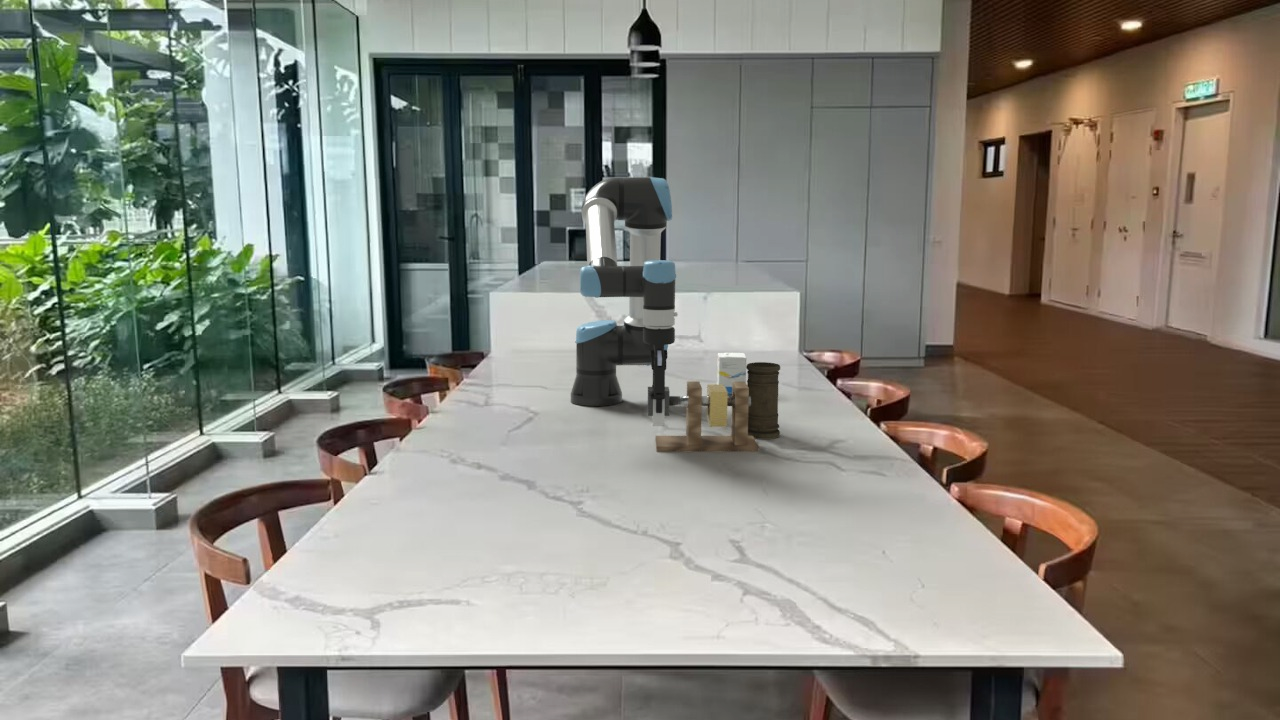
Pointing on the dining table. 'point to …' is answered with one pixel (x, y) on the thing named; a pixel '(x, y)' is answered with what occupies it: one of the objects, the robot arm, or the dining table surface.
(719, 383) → the ink box
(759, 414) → the container
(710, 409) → the spacer
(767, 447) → the dining table surface
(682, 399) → the shaft
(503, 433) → the dining table surface
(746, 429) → the bearing rig
